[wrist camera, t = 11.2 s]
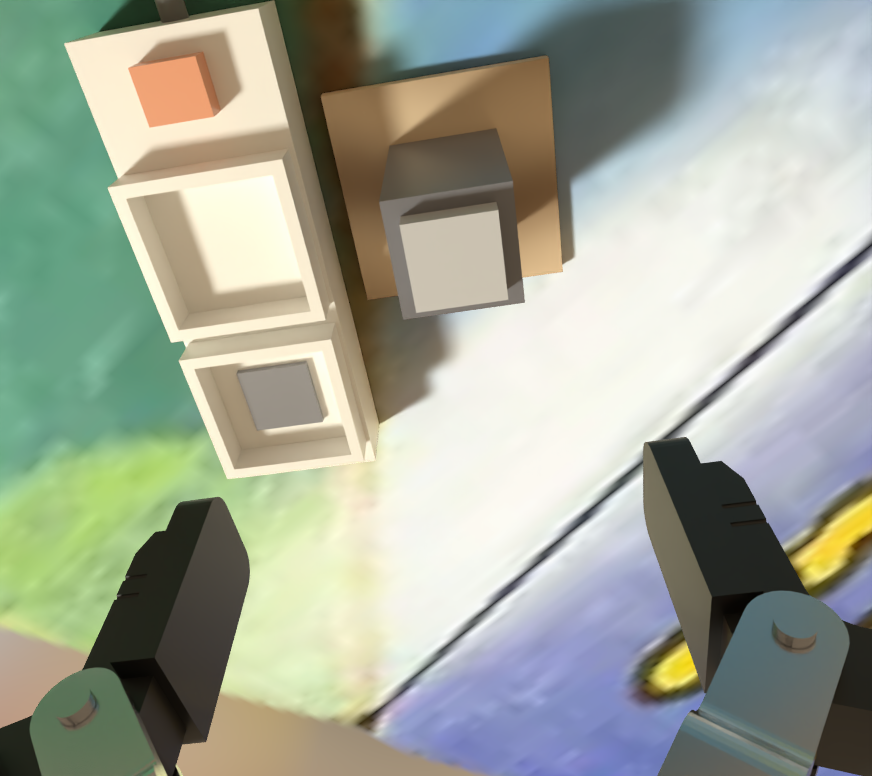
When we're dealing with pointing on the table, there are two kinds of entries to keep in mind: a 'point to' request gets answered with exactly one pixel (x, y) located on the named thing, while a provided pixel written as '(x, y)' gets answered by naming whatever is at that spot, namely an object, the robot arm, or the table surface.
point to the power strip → (233, 232)
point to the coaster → (438, 117)
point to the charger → (451, 224)
